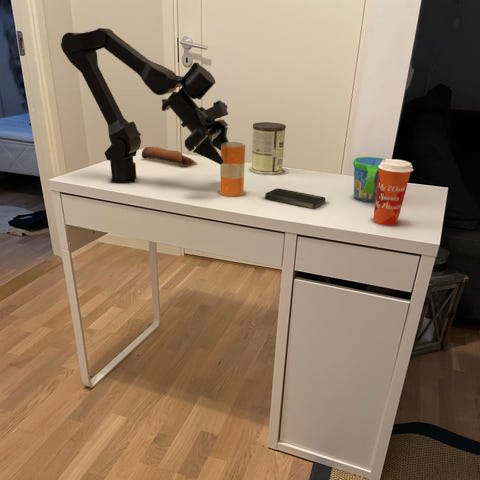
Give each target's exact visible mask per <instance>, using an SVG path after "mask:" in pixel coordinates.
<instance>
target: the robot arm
mask: <svg viewBox="0 0 480 480" xmlns="http://www.w3.org/2000/svg"><path fill="white" fill-rule="evenodd" d="M60 48H61V50H62V52H63V54H64V55H65V57H66V59H68V61H69V63H70V64H71V65H72V66H73V67H75V68H76V69H77V70H78V71H79V72H80V73H81V75H82V77H83V79H84V81H85V83H86V85H87V87H88V89H89V91H90V93H91V94H92V96H93V98H94V100H95V102H96V105H97V106H98V109H99V111H100V112H101V114H102V116H103V118H104V120H105V122H106V124H107V128H108V129H107V131H108V138H109V141H110V144H111V145H109V147H108V148H107V149H106V150H105V151H104V156H105V158H106V161H108V162H109V163H110V171H111V179H110V180H111V181H110V182H111V183H135V180H137V165H136V162H135V161H134V157H136V156H137V153H138V150H140V148H141V145H142V139H141V136H142V134H141V132H140V131H139V129H138V128H137V125H136V123H135V121H128V120H127V119H126V118H125V117H124V116H123V113H122V111H121V109H120V107H119V106H118V103H117V102H116V99H115V97H114V96H113V93H112V91H111V89H110V88H109V85H108V83H107V81H106V79H105V76H103V73H102V71H101V69H100V67H99V64H98V63H99V62H98V52H97V51H99V50H101V49H104V50H106V51H107V52H108V53H110V54H111V55H113V57H115V58H116V59H118V60H119V61H120V62H122V63H123V64H124V65H125V66H127V68H129V69H131V70H132V71H134V73H136V74H137V75H138V76H139V78H141V81H142V82H143V83H144V85H145V86H146V87H147V88H148V89H149V90H150V91H151V92H152V93H153V94H155V95H157V96H163V95H169V94H170V95H169V96H168V98H163V99H161V102H162V103H161V111H162V112H165V111H169V110H170V109H171V110H172V112H173V113H174V114H175V115H176V116H177V118H178V119H179V120H180V121H181V124H180V126H181V127H182V128H187V129H188V131H189V132H190V133H191V134H189V135H188V137H187V138H186V139H184V147H185V148H186V149H187V151H188V152H189V153H190V152H192V153H193V154H197V155H199V156H201V157H204V158H206V159H208V160H209V161H212V162H215V164H219V165H220V166H221V164H222V163H223V162H224V161H223V160H222V158H221V154H220V153H219V151H220V152H221V144H222V143H225V142H230V141H229V139H228V136H227V134H228V130H229V128H228V126H229V124H228V123H227V122H226V121H225V119H221V118H223V117H226V116H228V115H229V112H228V110H227V109H228V105H227V104H226V103H225V101H224V102H223V101H222V100H220V99H218V100H216V101H215V102H213V103H212V104H213V105H212V106H211V107H209V108H207V109H206V108H205V107H204V106H200V107H199V106H198V104H197V103H196V102H195V100H202V99H203V98H204V97H205V95H206V94H207V93H208V92H209V91H210V90H211V89H212V88H213V87H214V85H215V84H216V79H215V77H214V76H213V74H212V73H211V72H210V71H208V70H207V69H206V68H205V67H204V66H202V65H200V63H199V62H193V64H192V65H191V66H190V68H189V70H188V71H187V72H186V73H185V74H184V75H177V74H176V73H175V72H174V71H173V70H172V69H169V68H168V67H165V66H164V65H162V64H159V63H157V62H154V61H152V60H150V59H149V58H147V57H146V56H145V55H143V54H142V53H141V52H139V51H138V50H137V49H136V48H134V47H133V46H132V45H131V44H129V43H127V42H126V41H125V40H123V38H121V37H120V36H118V35H117V34H115V32H114V31H113V30H112V29H110V28H107V27H106V28H105V27H99V28H96V29H93V30H90V31H86V32H85V31H84V32H66V33H64V34H63V36H62V37H61V42H60ZM177 88H179V90H178V91H176V90H177ZM217 149H218V150H219V151H218V150H217Z"/></svg>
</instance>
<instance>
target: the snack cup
mask: <svg viewBox="0 0 480 480" xmlns="http://www.w3.org/2000/svg"><path fill="white" fill-rule="evenodd" d="M386 159H387V158H382V157H376V156H359V157H355V158H354V159H353V163H352V165H353V170H354V171H353V195H354V198H355V199H356V200H359V201H362V202H368V203H369V202H370V203H372V202H373V203H375V200H376V192H377V182H378V175H379V167H378V166H379V165H380V163H381V162H382V161H383V160H386Z"/></svg>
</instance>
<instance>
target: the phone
mask: <svg viewBox="0 0 480 480" xmlns="http://www.w3.org/2000/svg"><path fill="white" fill-rule="evenodd" d="M264 198H265V199H266V200H271V201H276V202H281V203H285V204H290V205H295V206H299V207H305V208H309V209H317V208H318V207H320V206H322V205H324V204H325V203H326V197H325V196H320V195H315V194H311V193H304V192H301V191H295V190H291V189H290V190H289V189H284V188H274V189H272V190H270V191H267V192H265V195H264Z"/></svg>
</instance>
